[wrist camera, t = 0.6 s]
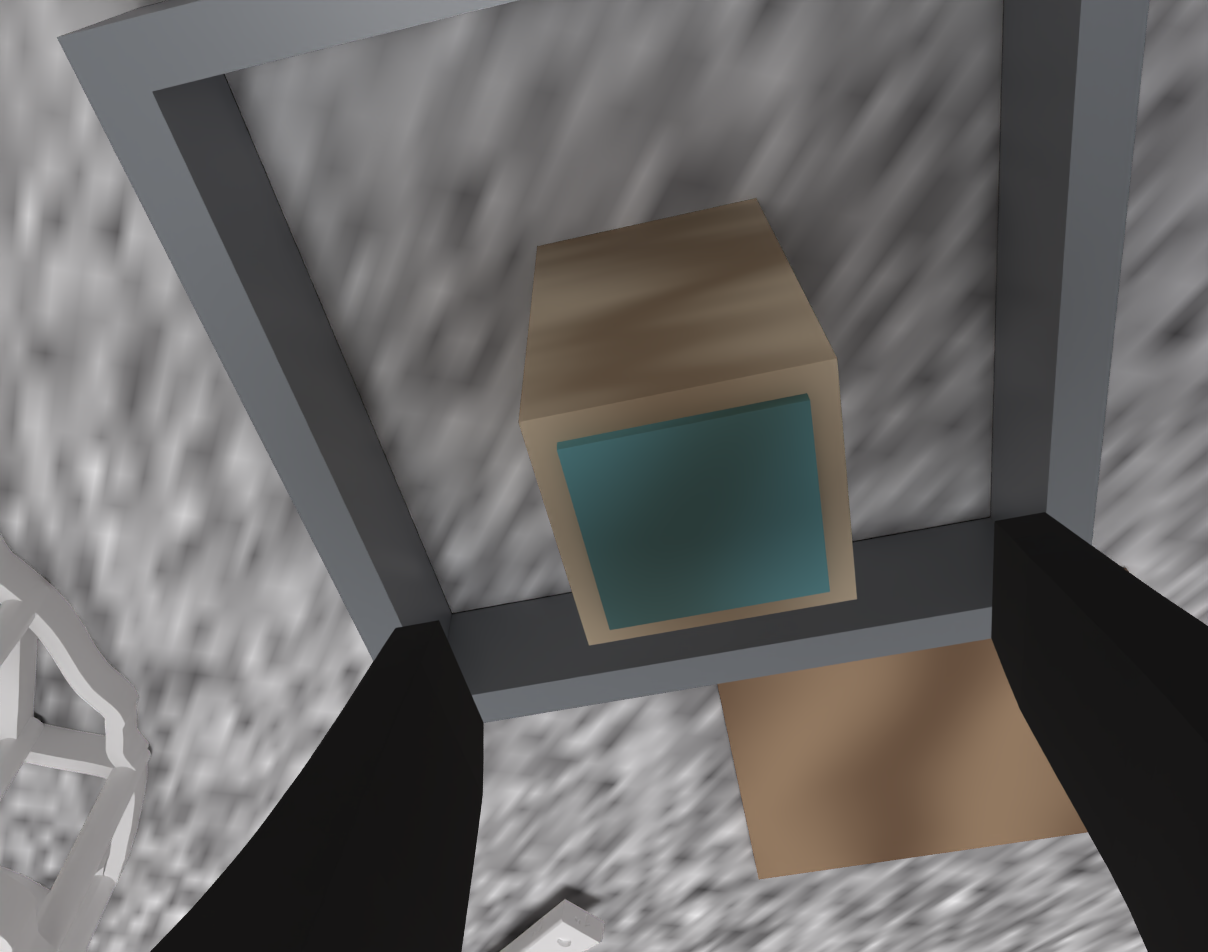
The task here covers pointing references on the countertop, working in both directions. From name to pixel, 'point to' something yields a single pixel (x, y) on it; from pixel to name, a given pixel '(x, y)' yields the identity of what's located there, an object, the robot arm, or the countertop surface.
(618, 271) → the label box
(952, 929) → the countertop surface
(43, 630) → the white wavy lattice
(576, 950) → the white plastic strip tool
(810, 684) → the pad
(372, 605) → the bin
